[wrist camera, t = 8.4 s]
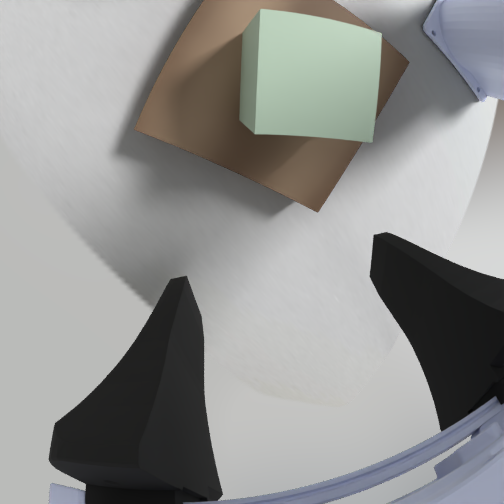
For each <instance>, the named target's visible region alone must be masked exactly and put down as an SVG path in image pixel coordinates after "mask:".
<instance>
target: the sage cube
mask: <svg viewBox="0 0 504 504" xmlns="http://www.w3.org/2000/svg"><path fill="white" fill-rule="evenodd" d="M381 41H382V33H379V32H376V31H373V30H370V29H366V28H363V27H359V26H356V25H352V24H348V23H344V22H340V21H335V20H331V19H326V18H322V17H316V16H311V15H305V14H299V13H293V12H285V11H277V10H268V9H260V10H259V11H258V12H257V14H256V15H255V16H254V18H253V19H252V20H251V22H250V23H249V24H248V26H247V27H246V28H245V30H244V31H243V34H242V58H241V84H240V114H239V120H240V121H241V122H242V123H243V124H244V125H245V126H246V127H248V128H249V129H250V130H251V131H252V132H253V133H254V134H269V135H293V136H309V137H322V138H333V139H343V140H353V141H361V142H369V143H372V141H373V134H374V126H375V118H376V109H377V99H378V89H379V77H380V62H381Z"/></svg>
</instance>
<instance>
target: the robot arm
mask: <svg viewBox="0 0 504 504" xmlns="http://www.w3.org/2000/svg"><path fill="white" fill-rule="evenodd" d="M423 30H424V32H425V33H426V34H427V35H428V36H429V37H430V38H431V40H432V41H433V42H434V43H435V44H436V45H437V46H438V47H439V48H440V50H441V51H442V52H443V53H444V54H445V55H446V57H447V58H448V59H449V60H450V61H451V63H452V64H453V65H454V66H455V68H456V69H457V70H458V71H459V73H460V74H461V75H462V77H463V78H464V79H465V81H466V82H467V83H468V85H469V86H470V88H471V89H472V90H473V92H474V93H475V95H476V96H477V98H478V99H479V100H480V101H482V102H484V101H485V100H486V98H487V96H490V97H494V98H497V99H501V100H504V0H437V1H436V3H435V4H434V6H433V8H432V10H431V12H430V13H429V15H428V17H427V19H426V21H425V22H424V24H423ZM432 32H433V34H432ZM370 278H371V280H372V282H373V284H374V286H375V288H376V290H377V292H378V294H379V296H380V297H381V299H382V300H383V302H384V303H385V305H386V306H387V308H388V309H389V311H390V312H391V314H392V315H393V317H394V318H395V320H396V321H397V323H398V324H399V326H400V327H401V329H402V330H403V332H404V333H405V335H406V336H407V338H408V340H409V342H410V343H411V345H412V347H413V349H414V351H415V353H416V356H417V358H418V360H419V362H420V365H421V367H422V369H423V372H424V374H425V377H426V379H427V382H428V385H429V388H430V391H431V394H432V397H433V400H434V404H435V408H436V411H437V416H438V419H439V425H440V429H441V431H442V432H440V433H438V434H437V435H435V436H433V437H431V438H429V439H427V440H425V441H424V442H422V443H420V444H418V445H416V446H414V447H412V448H410V449H408V450H406V451H404V452H401V453H399V454H397V455H395V456H392V457H390V458H388V459H385V460H383V461H381V462H378V463H376V464H373V465H371V466H368V467H366V468H363V469H361V470H358V471H355V472H352V473H349V474H346V475H343V476H340V477H337V478H333V479H330V480H327V481H323V482H320V483H316V484H313V485H309V486H305V487H301V488H297V489H292V490H288V491H283V492H278V493H273V494H267V495H262V496H255V497H248V498H240V499H232V500H223V501H222V500H221V501H218V499H220V497H221V496H222V495H223V493H222V489H221V485H220V481H219V477H218V473H217V469H216V464H215V459H214V454H213V450H212V445H211V439H210V433H209V427H208V421H207V413H206V407H205V395H204V334H203V325H202V317H201V314H200V311H199V308H198V306H197V303H196V300H195V297H194V295H193V292H192V289H191V286H190V284H189V281H188V278H187V276H183V277H179V278H174V279H171V280H170V281H169V283H168V285H167V286H166V288H165V290H164V292H163V294H162V296H161V297H160V299H159V301H158V303H157V305H156V307H155V308H154V310H153V312H152V314H151V315H150V317H149V319H148V321H147V322H146V324H145V326H144V327H143V329H142V330H141V332H140V333H139V335H138V337H137V338H136V340H135V342H134V343H133V344H132V346H131V347H130V348H129V350H128V351H127V352H126V354H125V355H124V356H123V358H122V359H121V360H120V362H119V363H118V364H117V365H116V367H115V368H114V369H113V370H112V371H111V372H110V373H109V374H108V375H107V377H106V378H105V379H104V380H103V381H102V382H101V383H100V384H99V385H98V386H97V388H95V389H94V391H92V393H90V394H89V395H88V396H87V397H86V398H85V399H84V400H83V401H82V402H81V403H80V404H79V405H77V406H76V407H75V408H74V409H73V410H71V411H70V412H69V413H67V414H66V415H65V416H64V417H62V418H61V419H60V420H59V421H57V422H56V423H55V425H54V430H53V436H52V441H51V447H50V454H49V461H50V463H51V464H52V465H53V466H54V467H55V468H56V469H58V470H60V471H61V472H63V473H65V474H67V475H69V476H71V477H73V478H75V479H77V480H79V481H81V482H83V483H85V484H86V491H83V490H80V489H76V488H72V487H67V486H63V485H59V484H54V483H51V484H50V492H49V504H324V503H328V502H331V501H334V500H337V499H341V498H344V497H347V496H350V495H352V494H356V493H358V492H361V491H364V490H366V489H369V488H372V487H374V486H377V485H379V484H382V483H384V482H386V481H389V480H391V479H393V478H395V477H398V476H400V475H402V474H404V473H406V472H408V471H410V470H412V469H414V468H416V467H418V466H420V465H422V464H424V463H426V462H428V461H429V460H431V459H433V458H435V457H437V456H438V455H440V454H442V453H443V452H445V451H447V450H449V449H450V448H452V447H453V446H455V445H456V444H458V443H460V442H461V441H463V440H464V439H466V438H467V437H469V436H470V435H472V436H471V440H470V441H469V442H467V443H466V444H465V445H463V446H461V447H460V448H459V449H457V450H456V451H455V452H454V453H453V454H451V455H450V456H449V457H447V458H446V459H444V460H443V461H442V462H440V463H438V464H437V465H435V467H434V469H435V471H436V474H437V479H435V480H434V481H432V482H430V483H428V484H427V485H424V486H423V487H421V488H419V489H417V490H415V491H413V492H411V493H409V494H407V495H405V496H403V497H401V498H398V499H396V500H394V501H392V502H389V503H387V504H504V279H500V278H496V277H493V276H489V275H486V274H482V273H479V272H476V271H474V270H471V269H468V268H466V267H463V266H460V265H458V264H456V263H453V262H451V261H449V260H447V259H444V258H442V257H440V256H438V255H436V254H434V253H431V252H429V251H427V250H425V249H423V248H421V247H419V246H417V245H415V244H413V243H411V242H409V241H407V240H405V239H402V238H400V237H398V236H396V235H393V234H391V233H388V232H385V233H380V234H376V235H374V238H373V249H372V260H371V269H370Z"/></svg>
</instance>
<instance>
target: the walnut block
mask: <svg viewBox="0 0 504 504" xmlns="http://www.w3.org/2000/svg"><path fill="white" fill-rule="evenodd" d="M260 9H268V10H277V11H285V12H293V13H299V14H305V15H311V16H316V17H322V18H326V19H331V20H335V21H340V22H344V23H348V24H352V25H356V26H359V27H363V28H366V29H370V30H373V29H372V28H371V27H369V26H368V25H367V24H365V23H364V22H363V21H362V20H360V19H359V18H358V17H356V16H355V15H354V14H352V13H351V12H349V11H348V10H347V9H345V8H344V7H342V6H341V5H340V4H338V3H337V2H335V1H334V0H204V1H203V2H202V4H201V5H200V7H199V8H198V10H197V11H196V13H195V14H194V16H193V17H192V19H191V20H190V22H189V24H188V25H187V27H186V28H185V30H184V32H183V33H182V35H181V37H180V38H179V40H178V42H177V43H176V45H175V47H174V49H173V50H172V52H171V54H170V56H169V58H168V59H167V61H166V63H165V65H164V67H163V69H162V71H161V72H160V74H159V76H158V78H157V80H156V82H155V84H154V86H153V88H152V90H151V93H150V95H149V97H148V99H147V101H146V103H145V105H144V108H143V110H142V112H141V114H140V116H139V119H138V121H137V123H136V126H135V128H134V130H136V131H139V132H141V133H144V134H147V135H149V136H152V137H154V138H157V139H159V140H162V141H164V142H167V143H169V144H172V145H174V146H176V147H179V148H181V149H184V150H186V151H188V152H191V153H193V154H195V155H198V156H200V157H202V158H205V159H207V160H209V161H211V162H214V163H216V164H218V165H220V166H223V167H225V168H227V169H229V170H232V171H234V172H236V173H238V174H240V175H242V176H245V177H247V178H249V179H251V180H253V181H255V182H257V183H259V184H262V185H264V186H266V187H268V188H270V189H272V190H274V191H276V192H278V193H280V194H282V195H284V196H286V197H288V198H290V199H292V200H294V201H296V202H298V203H300V204H302V205H304V206H306V207H308V208H310V209H312V210H314V211H316V212H319V210H320V209H321V207H322V206H323V204H324V203H325V201H326V199H327V198H328V196H329V195H330V193H331V192H332V190H333V188H334V187H335V185H336V184H337V182H338V181H339V179H340V177H341V176H342V174H343V173H344V171H345V169H346V168H347V166H348V165H349V163H350V161H351V160H352V158H353V157H354V155H355V153H356V152H357V150H358V149H359V147H360V145H361V144H362V142H361V141H353V140H343V139H333V138H322V137H309V136H293V135H269V134H254V133H253V132H252V131H251V130H250V129H249V128H248V127H246V126H245V125H244V124H243V123H242V122H241V121H240V120H239V114H240V84H241V58H242V34H243V31H244V30H245V28H246V27H247V26H248V24H249V23H250V22H251V20H252V19H253V18H254V16H255V15H256V14H257V12H258V11H259V10H260ZM373 31H374V30H373ZM408 64H409V61H408V60H407V59H406V58H405V57H404V56H403V55H402V54H401V53H399V52H398V51H397V50H396V49H395V48H394V47H393V46H392V45H391V44H390V43H388V42H387V41H386V40H385V39H384V38H383V37H382V41H381V62H380V77H379V89H378V99H377V109H376V118H375V121H376V119H377V117H378V116H379V114H380V112H381V111H382V109H383V107H384V106H385V104H386V102H387V101H388V99H389V97H390V95H391V94H392V92H393V90H394V89H395V87H396V85H397V83H398V82H399V80H400V78H401V76H402V75H403V73H404V71H405V69H406V68H407V66H408Z"/></svg>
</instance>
